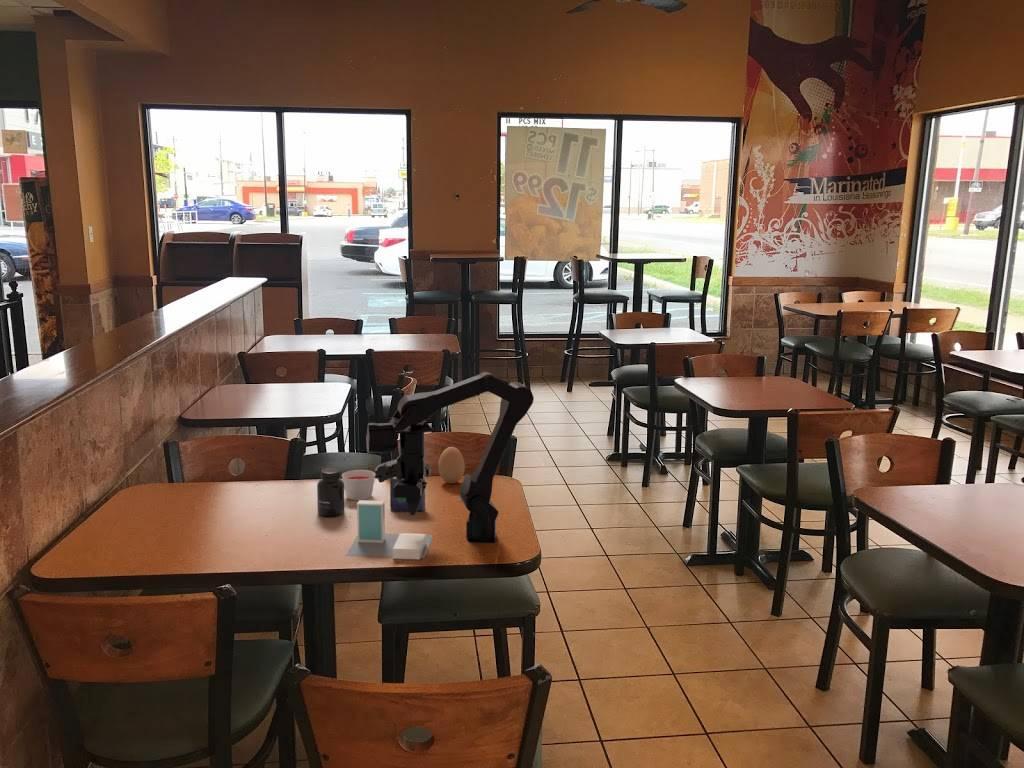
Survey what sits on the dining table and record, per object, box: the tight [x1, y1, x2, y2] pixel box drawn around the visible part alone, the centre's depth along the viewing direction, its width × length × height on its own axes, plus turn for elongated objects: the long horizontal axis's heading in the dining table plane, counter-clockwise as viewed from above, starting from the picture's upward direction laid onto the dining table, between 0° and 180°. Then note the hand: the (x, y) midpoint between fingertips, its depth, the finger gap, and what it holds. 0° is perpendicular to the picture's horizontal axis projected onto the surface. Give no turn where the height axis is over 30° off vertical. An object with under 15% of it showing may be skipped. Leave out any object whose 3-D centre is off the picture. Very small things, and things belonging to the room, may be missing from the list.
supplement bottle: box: [316, 467, 345, 519], centre depth 222 cm, size 7×7×12 cm
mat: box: [345, 533, 434, 559], centre depth 202 cm, size 18×14×1 cm
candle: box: [341, 469, 376, 501], centre depth 237 cm, size 9×9×6 cm
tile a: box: [392, 532, 426, 560], centre depth 199 cm, size 6×2×10 cm
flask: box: [389, 476, 426, 513], centre depth 226 cm, size 9×3×11 cm, turn 87°
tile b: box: [356, 499, 386, 543], centre depth 204 cm, size 6×2×10 cm, turn 88°
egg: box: [437, 446, 466, 485], centre depth 250 cm, size 8×8×11 cm
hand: (412, 514), depth 202 cm, fingers closed
